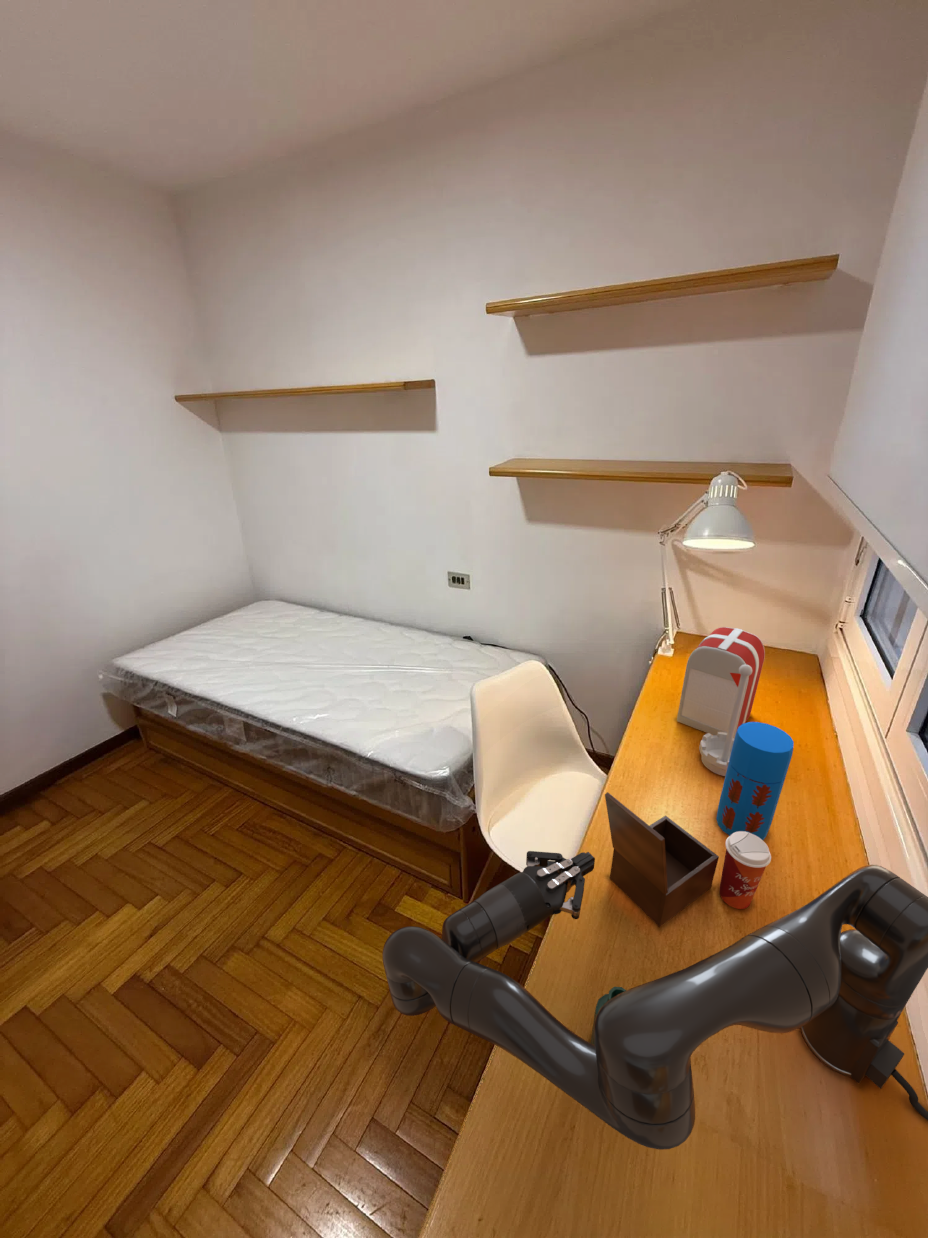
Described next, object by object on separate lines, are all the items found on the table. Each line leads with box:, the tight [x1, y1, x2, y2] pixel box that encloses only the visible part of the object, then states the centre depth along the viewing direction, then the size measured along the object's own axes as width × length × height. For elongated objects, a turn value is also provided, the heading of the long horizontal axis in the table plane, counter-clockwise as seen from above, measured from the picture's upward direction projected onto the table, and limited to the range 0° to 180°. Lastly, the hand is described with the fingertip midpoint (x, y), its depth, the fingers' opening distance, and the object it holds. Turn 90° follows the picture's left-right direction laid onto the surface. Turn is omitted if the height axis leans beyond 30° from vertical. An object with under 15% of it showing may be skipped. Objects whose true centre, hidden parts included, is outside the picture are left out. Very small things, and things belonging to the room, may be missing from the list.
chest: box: [609, 815, 720, 928], centre depth 104 cm, size 16×13×9 cm
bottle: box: [590, 986, 628, 1045], centre depth 75 cm, size 6×6×15 cm
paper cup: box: [718, 831, 772, 910], centre depth 100 cm, size 8×8×14 cm
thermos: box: [715, 721, 795, 841], centre depth 114 cm, size 11×11×25 cm
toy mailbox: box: [676, 626, 766, 739], centre depth 151 cm, size 16×18×27 cm
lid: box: [604, 792, 668, 895], centre depth 94 cm, size 16×13×1 cm
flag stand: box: [698, 665, 752, 777], centre depth 132 cm, size 13×13×30 cm
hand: (591, 858), depth 87 cm, fingers closed
